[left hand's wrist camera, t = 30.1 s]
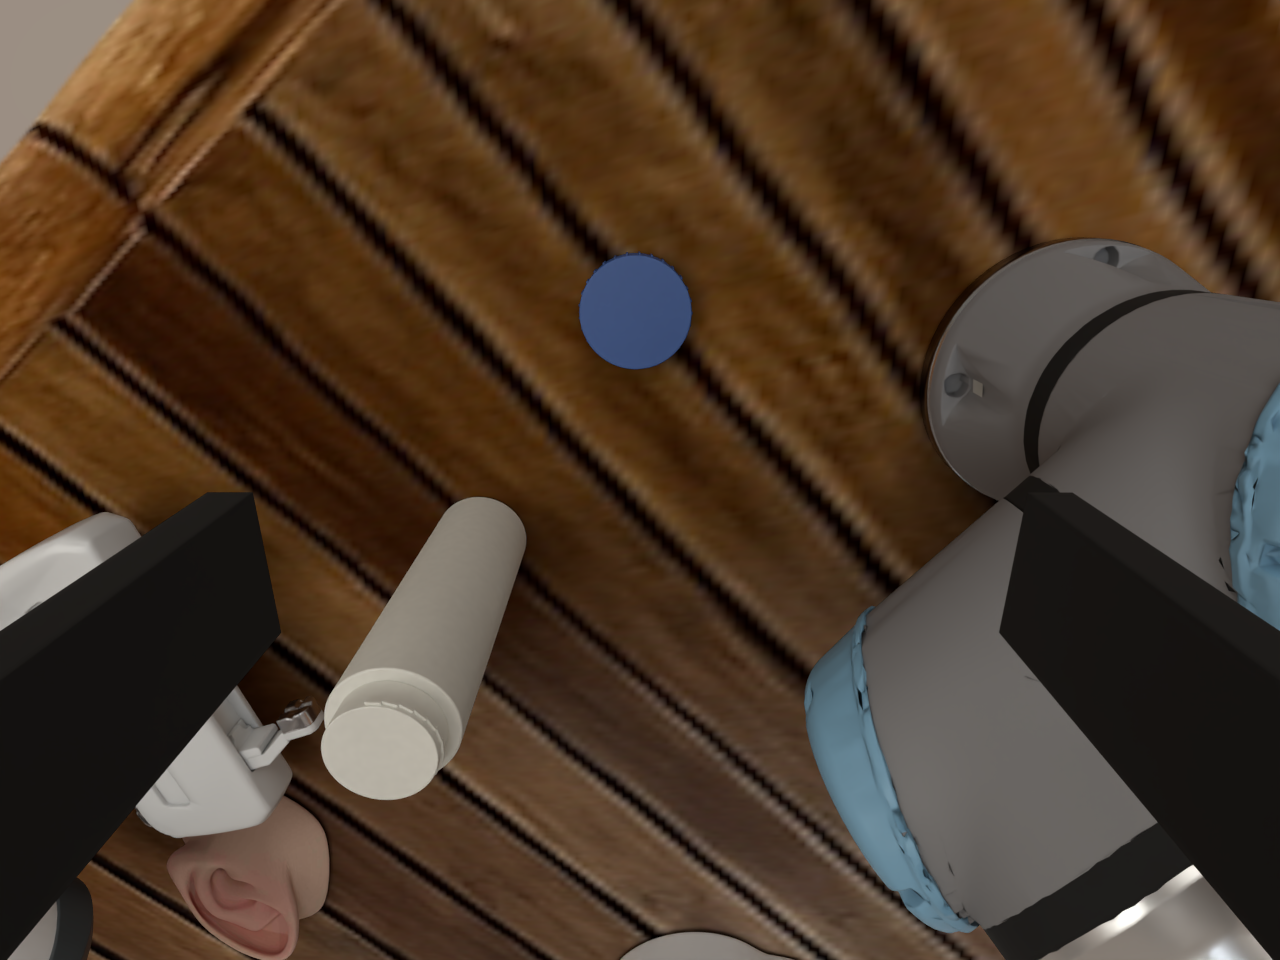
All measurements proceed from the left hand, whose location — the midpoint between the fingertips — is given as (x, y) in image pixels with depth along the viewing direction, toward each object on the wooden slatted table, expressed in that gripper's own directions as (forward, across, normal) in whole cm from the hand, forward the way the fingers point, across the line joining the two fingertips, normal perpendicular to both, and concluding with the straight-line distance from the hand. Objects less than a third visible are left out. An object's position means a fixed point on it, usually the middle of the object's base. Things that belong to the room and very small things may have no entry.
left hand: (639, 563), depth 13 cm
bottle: (+30, +10, +14) cm, 35 cm away
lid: (+29, 0, 0) cm, 29 cm away
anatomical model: (+30, +29, +40) cm, 58 cm away
